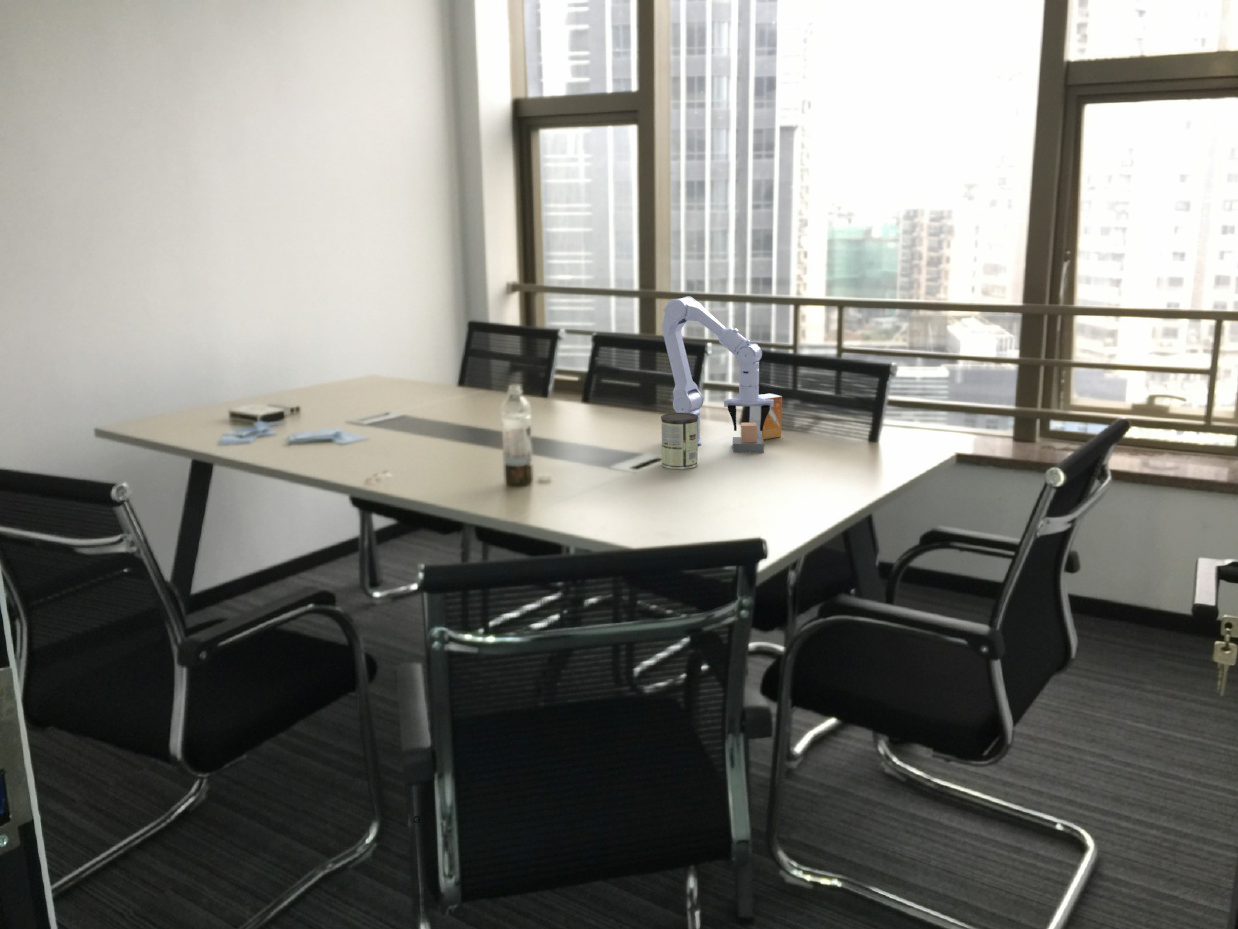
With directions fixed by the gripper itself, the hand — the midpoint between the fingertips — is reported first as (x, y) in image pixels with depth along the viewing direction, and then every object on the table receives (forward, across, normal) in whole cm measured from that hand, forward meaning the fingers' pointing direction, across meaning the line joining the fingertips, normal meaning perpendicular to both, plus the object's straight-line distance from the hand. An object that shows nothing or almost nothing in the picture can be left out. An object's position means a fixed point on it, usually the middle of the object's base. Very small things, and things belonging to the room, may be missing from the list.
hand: (748, 430), depth 318 cm
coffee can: (+6, -20, -20) cm, 29 cm away
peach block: (+3, 0, 0) cm, 3 cm away
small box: (+6, +6, +16) cm, 18 cm away
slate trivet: (+6, 0, 0) cm, 6 cm away
